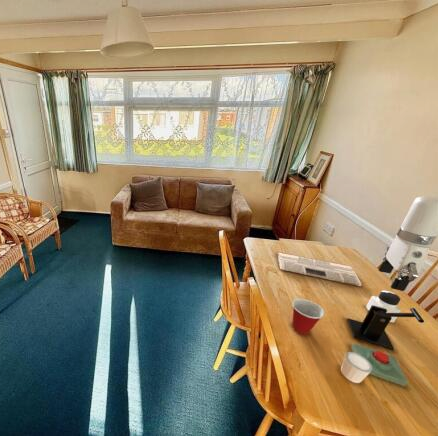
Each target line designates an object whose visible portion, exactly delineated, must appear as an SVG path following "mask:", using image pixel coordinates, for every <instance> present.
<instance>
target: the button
mask: <svg viewBox="0 0 438 436" xmlns="http://www.w3.org/2000/svg"><path fill="white" fill-rule="evenodd" d="M386 354H387V353H386ZM386 354H385V352H383V351H381V350H378V351H375V353H374V354H373V356H374V358H375V359H376V360H378V361H379V362H381V363H384V364H385V363H387V362H388V361H389V357H388V356H387V355H386Z"/></svg>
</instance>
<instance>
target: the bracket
mask: <svg viewBox="0 0 438 436" xmlns="http://www.w3.org/2000/svg"><path fill="white" fill-rule="evenodd" d="M373 310H383V311H384V313H386V312H387V309H385V308H381V307H377V306H373V305H372V306H371V308H370V310H369V311H368V310H367V311H368V312H367V313H366V315H365V316H364V319H363V320H362V321H359V320H356V319H352V318H348V317H347V318H346V322H347V325H348V328H349V329H350V330H349V331H350V332H351V336H352V338H353V339H355V340H358V341H360V342H364V343H366V344H367V343H368V344H371V345H374V346H377V347H380V348H384V349H386V350H390V351H394V350H395V348H394V345H393V344H392V342H391V340H390V338H389V336H388V334H387V332H386V328H387V327H388V325H390V323H391V322H390V320H391V319H392V317H391V316H388V315H384V314H381V313H377V312H376V313H375V314H374V311H373Z"/></svg>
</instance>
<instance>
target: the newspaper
mask: <svg viewBox="0 0 438 436" xmlns="http://www.w3.org/2000/svg"><path fill="white" fill-rule="evenodd" d="M277 260H278V265H279V268H280V270H282V271H285V272H291V273H296V274H301V275H306V276H310V277H315V278H319V279H324V280H327V281H328V280H330V281H333V282H339V283H342V284H348V285H353V286H357V287H362V281H361V279H360V278H359V277H358V275H357V273H356V271H355V270H354V269H353V268H352V266H349V265H345V264H341V263H340V264H339V263H335V262H328V261H325V260H324V261H323V260H319V259H313V258H308V257H303V256H298V255H292V254H288V253H281V252H277Z"/></svg>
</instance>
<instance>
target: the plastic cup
mask: <svg viewBox="0 0 438 436" xmlns="http://www.w3.org/2000/svg"><path fill="white" fill-rule="evenodd" d="M291 305H292V310H293V311H292V312H293V313H292V323H291V324H292V325H291V326H292V328H293V330H294V331H295V332H296V333H298V334H301V335H308V334H309V333H310V331H311V330H313V328H314V327H315V326H316V324H317V323H318V322H319V321H320V320H321V319H322V318H324V316H325V310H324V309H323V308H322V307H321V306H320V305H319V304H317V303H315V301H311V300H309V299H304V298H296V299H293V300H292V302H291Z"/></svg>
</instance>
